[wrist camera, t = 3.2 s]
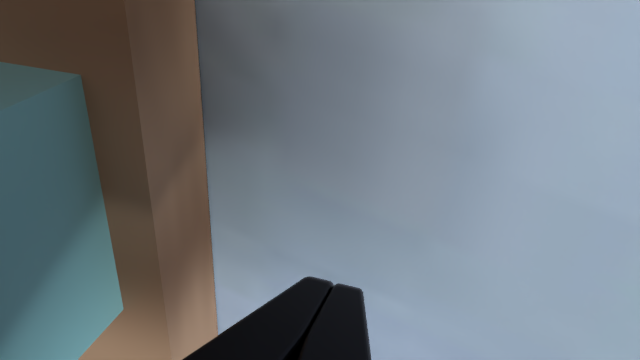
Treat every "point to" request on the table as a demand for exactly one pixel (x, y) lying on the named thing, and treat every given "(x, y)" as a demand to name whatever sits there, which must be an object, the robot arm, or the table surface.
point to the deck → (137, 157)
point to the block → (51, 220)
